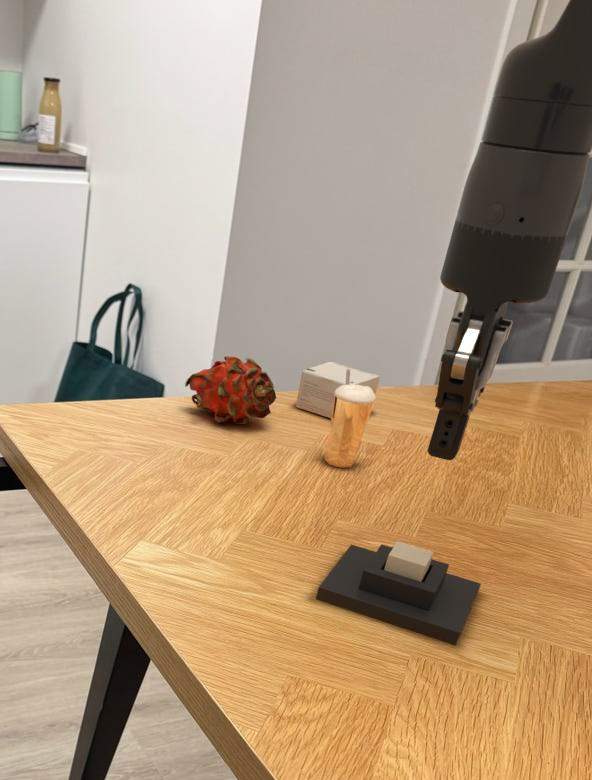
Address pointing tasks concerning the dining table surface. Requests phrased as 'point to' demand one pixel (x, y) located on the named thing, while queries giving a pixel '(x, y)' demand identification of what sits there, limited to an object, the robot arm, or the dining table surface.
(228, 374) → the dragon fruit
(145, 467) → the dining table surface
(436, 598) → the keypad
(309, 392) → the small box
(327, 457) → the milkshake
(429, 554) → the beige square block
